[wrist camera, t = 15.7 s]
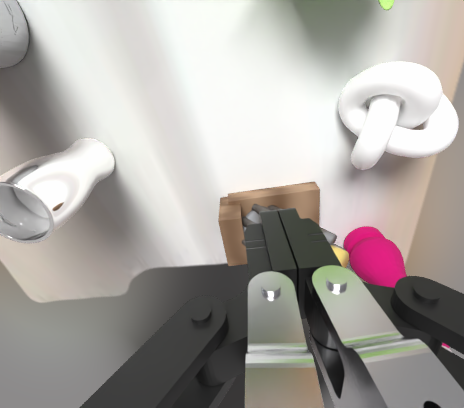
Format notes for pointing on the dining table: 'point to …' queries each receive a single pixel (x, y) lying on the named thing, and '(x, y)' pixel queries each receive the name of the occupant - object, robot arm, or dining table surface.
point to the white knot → (397, 113)
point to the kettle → (386, 4)
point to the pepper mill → (375, 258)
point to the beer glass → (50, 189)
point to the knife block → (252, 202)
